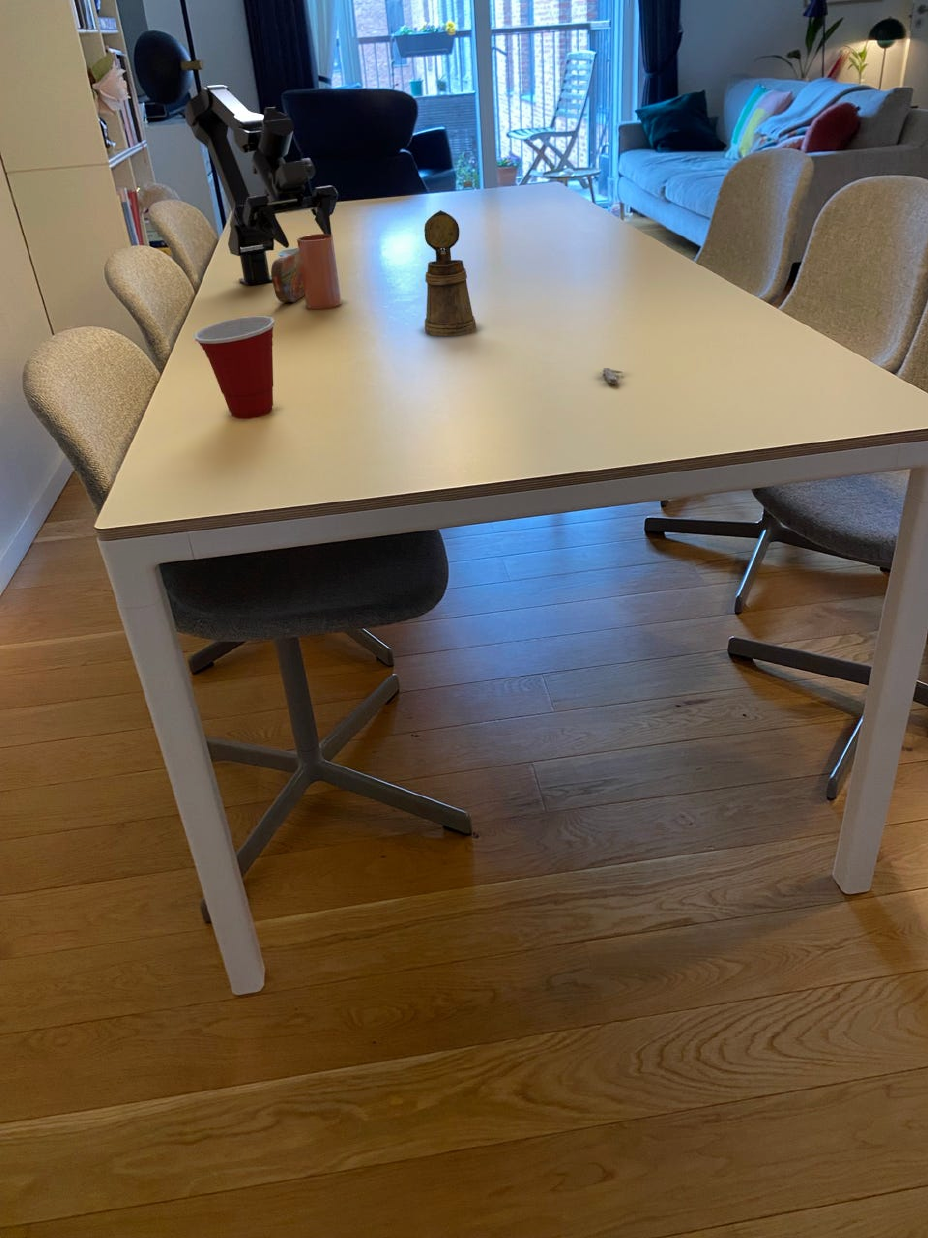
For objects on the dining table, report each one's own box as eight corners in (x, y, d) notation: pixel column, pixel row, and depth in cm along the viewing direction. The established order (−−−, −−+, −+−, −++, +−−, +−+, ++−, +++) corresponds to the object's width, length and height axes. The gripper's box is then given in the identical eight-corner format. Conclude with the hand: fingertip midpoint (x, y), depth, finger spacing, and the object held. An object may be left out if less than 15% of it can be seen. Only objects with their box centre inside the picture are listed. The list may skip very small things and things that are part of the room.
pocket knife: (629, 380, 126) (608, 378, 126) (628, 386, 127) (607, 384, 126) (621, 368, 131) (601, 366, 131) (620, 373, 132) (600, 372, 131)
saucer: (323, 254, 226) (322, 244, 225) (332, 262, 216) (331, 252, 215) (276, 259, 223) (274, 250, 222) (283, 268, 214) (281, 258, 212)
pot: (312, 300, 183) (303, 234, 176) (345, 300, 181) (336, 233, 175) (302, 309, 177) (291, 241, 170) (335, 308, 176) (326, 239, 169)
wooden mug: (472, 315, 165) (466, 207, 155) (478, 334, 154) (472, 219, 144) (423, 318, 165) (414, 211, 155) (425, 338, 153) (416, 224, 144)
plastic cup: (217, 402, 131) (199, 317, 124) (292, 396, 131) (278, 311, 125) (205, 429, 121) (185, 338, 115) (286, 422, 122) (270, 331, 116)
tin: (288, 306, 180) (281, 261, 175) (273, 306, 180) (266, 262, 176) (313, 289, 192) (307, 246, 188) (300, 289, 193) (293, 247, 188)
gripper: (237, 149, 166) (272, 220, 164) (327, 138, 174) (362, 206, 172) (228, 193, 175) (262, 260, 173) (314, 181, 184) (347, 245, 182)
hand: (309, 242), depth 175 cm, fingers open, 9 cm apart
